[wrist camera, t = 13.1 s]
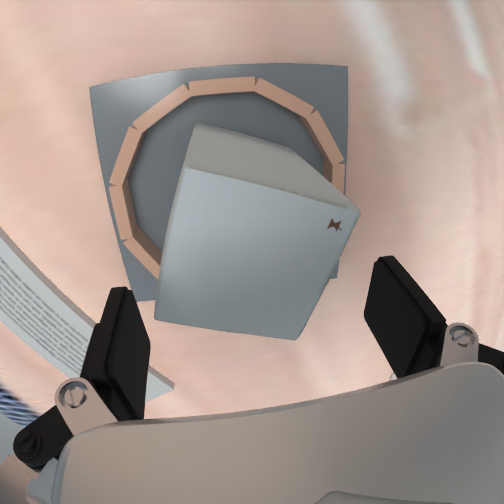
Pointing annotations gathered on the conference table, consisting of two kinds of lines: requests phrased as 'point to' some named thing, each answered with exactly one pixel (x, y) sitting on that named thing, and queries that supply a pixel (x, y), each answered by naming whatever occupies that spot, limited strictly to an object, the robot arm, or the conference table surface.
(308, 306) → the supplement box
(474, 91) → the conference table surface
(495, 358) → the robot arm
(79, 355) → the plaque
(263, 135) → the ring holder
